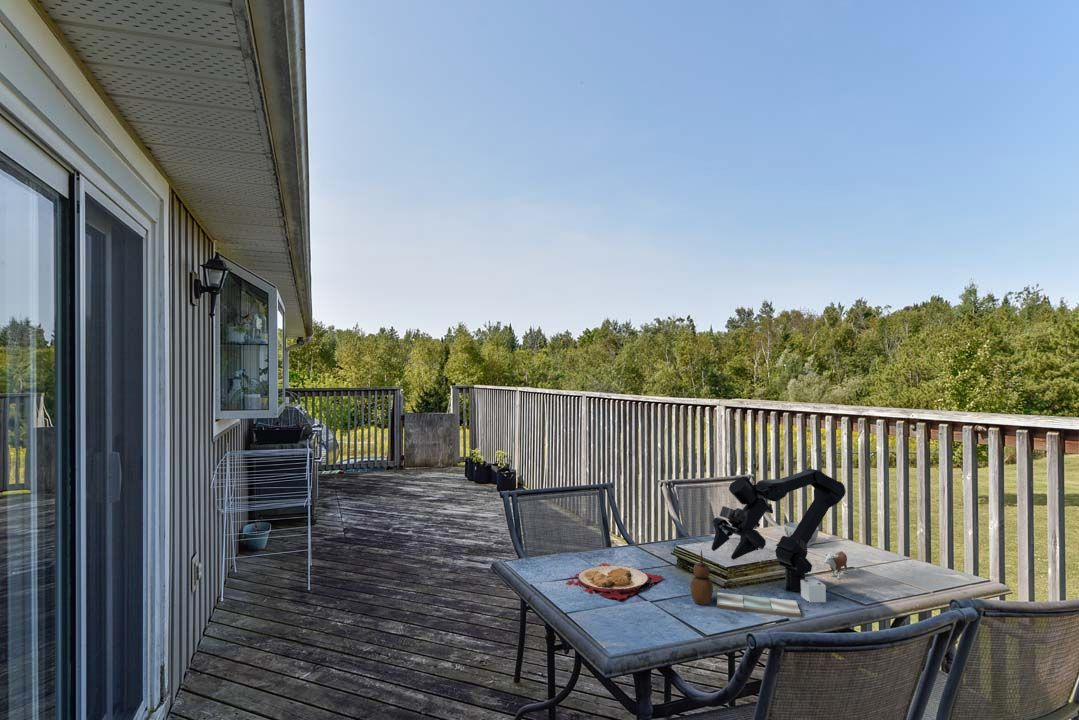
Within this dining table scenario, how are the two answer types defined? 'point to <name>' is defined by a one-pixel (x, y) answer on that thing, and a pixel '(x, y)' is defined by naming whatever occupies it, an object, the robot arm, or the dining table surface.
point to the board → (758, 604)
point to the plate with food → (614, 580)
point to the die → (813, 590)
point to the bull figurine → (836, 562)
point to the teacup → (791, 528)
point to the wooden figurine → (701, 584)
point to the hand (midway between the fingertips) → (722, 554)
